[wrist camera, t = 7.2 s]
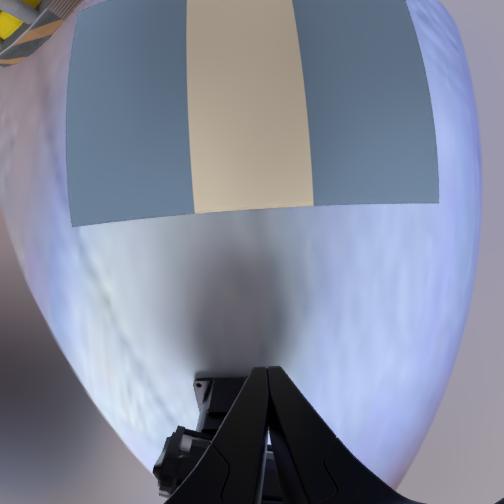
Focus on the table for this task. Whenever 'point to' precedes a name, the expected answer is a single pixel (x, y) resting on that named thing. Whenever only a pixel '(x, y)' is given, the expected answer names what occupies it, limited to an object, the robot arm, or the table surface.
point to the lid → (245, 108)
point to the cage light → (29, 25)
